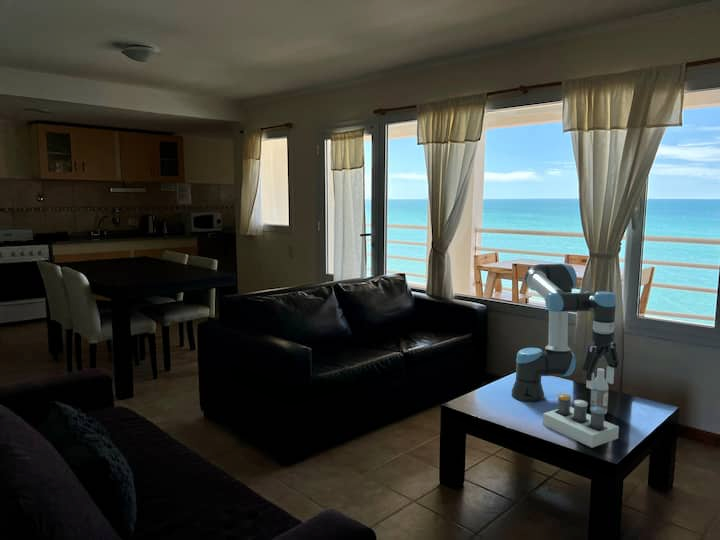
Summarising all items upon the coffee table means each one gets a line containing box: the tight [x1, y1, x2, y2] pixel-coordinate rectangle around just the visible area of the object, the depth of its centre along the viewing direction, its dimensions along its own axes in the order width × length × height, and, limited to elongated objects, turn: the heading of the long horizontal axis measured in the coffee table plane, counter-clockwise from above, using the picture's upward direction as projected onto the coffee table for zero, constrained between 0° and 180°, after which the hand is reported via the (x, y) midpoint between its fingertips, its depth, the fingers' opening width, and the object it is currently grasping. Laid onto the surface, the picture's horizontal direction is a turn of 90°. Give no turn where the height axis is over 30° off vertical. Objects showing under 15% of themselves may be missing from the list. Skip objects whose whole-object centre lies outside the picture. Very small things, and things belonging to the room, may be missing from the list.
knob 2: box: [573, 399, 589, 423], centre depth 211 cm, size 5×5×8 cm
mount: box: [542, 406, 620, 448], centre depth 211 cm, size 24×16×5 cm, turn 29°
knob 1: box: [557, 393, 572, 416], centre depth 218 cm, size 5×5×8 cm
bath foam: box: [589, 367, 609, 415], centre depth 230 cm, size 7×7×20 cm
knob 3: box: [590, 407, 606, 431], centre depth 204 cm, size 5×5×8 cm
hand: (599, 385), depth 202 cm, fingers open, 11 cm apart
